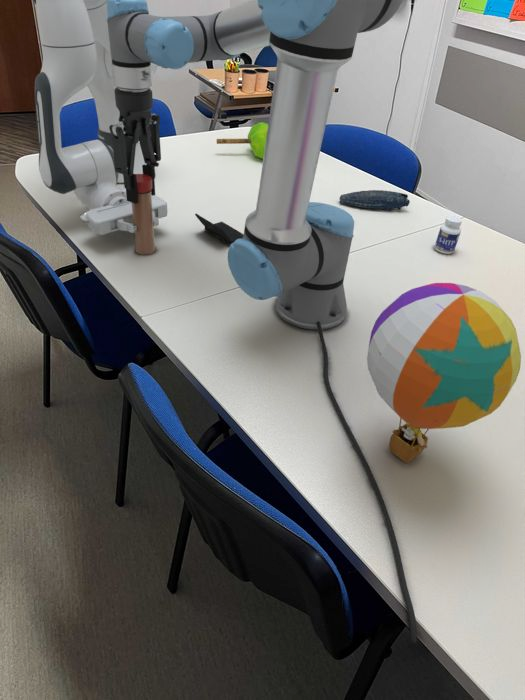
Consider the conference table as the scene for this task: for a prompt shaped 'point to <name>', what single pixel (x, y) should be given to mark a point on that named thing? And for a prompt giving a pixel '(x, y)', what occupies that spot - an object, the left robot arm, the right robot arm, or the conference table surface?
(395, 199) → the fish model
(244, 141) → the decorative tree
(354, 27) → the right robot arm
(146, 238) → the jar
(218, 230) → the handheld gaming console
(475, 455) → the conference table surface
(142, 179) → the lid
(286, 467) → the conference table surface
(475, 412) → the toy
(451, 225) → the pill bottle
